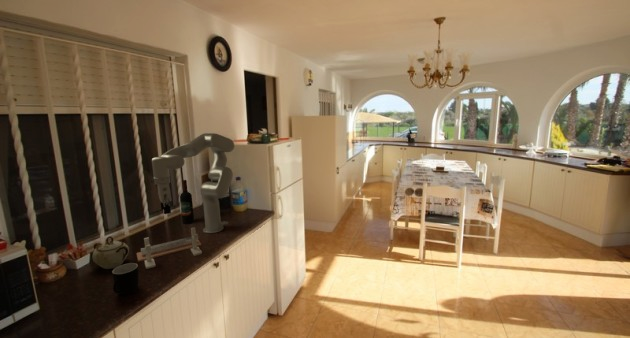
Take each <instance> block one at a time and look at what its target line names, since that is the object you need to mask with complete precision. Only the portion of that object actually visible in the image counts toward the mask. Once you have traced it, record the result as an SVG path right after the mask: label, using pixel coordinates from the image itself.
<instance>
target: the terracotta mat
mask: <svg viewBox="0 0 630 338" xmlns="http://www.w3.org/2000/svg"><path fill="white" fill-rule="evenodd" d="M196 241H197V247H201V246H202V242H200V240H199V239H198V240H196ZM192 248H193V244H190V245H186V246H182V247H178V248H174V249H170V250H166V251H162V252H158V253H154V254H151V259H154V258H158V257H161V256H166V255H169V254H174V253H177V252H181V251H185V250H189V249H190V250H191V249H192ZM136 257H137V262H138V263H139V262H143V261H145V260H147V258H146V256H142V254H141V251H139V252H136Z"/></svg>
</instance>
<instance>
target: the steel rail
mask: <svg viewBox="0 0 630 338" xmlns="http://www.w3.org/2000/svg"><path fill="white" fill-rule="evenodd" d="M190 244H192V236H188V237H184V238H180V239H175V240H171V241H167V242H163V243H159V244H158V243H157V244H154V245H150V246H151V251H150V252H151V254H154V253H158V252H162V251H166V250H170V249H174V248H178V247H182V246H186V245H190ZM140 252H141V254H142V256H146V251H145V247H141V248H140Z"/></svg>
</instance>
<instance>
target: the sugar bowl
mask: <svg viewBox="0 0 630 338" xmlns="http://www.w3.org/2000/svg"><path fill="white" fill-rule="evenodd" d="M109 239H110V240H109ZM93 250H94V251H93V252H92V256H91V259H92V261H93V262H94V263H95V264H96V265H97V266H99V267H100V268H102V269H105V270H109V269H110V270H111V269H115V268H116V267H118V266H121V265H124V264H123V263H124V261H125V260H126V259H127V257H128V255H129V252H130V247H129V246H128V244H127V243H125V242H123V241H121V240H114V238H113V237H112V235H111V236H110V235H109V236H107V238H106V239H105V243H99V242H96V243H94V244H93Z"/></svg>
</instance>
